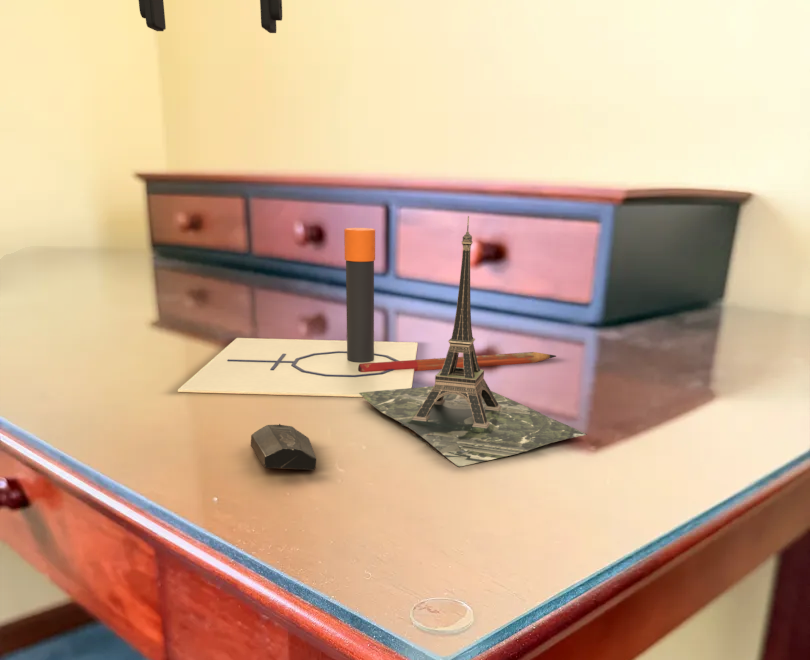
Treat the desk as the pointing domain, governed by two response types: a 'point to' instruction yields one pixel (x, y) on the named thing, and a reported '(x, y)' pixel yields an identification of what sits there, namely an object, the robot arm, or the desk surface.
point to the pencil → (439, 362)
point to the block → (283, 448)
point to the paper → (300, 368)
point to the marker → (360, 293)
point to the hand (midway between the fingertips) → (212, 30)
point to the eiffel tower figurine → (468, 401)
